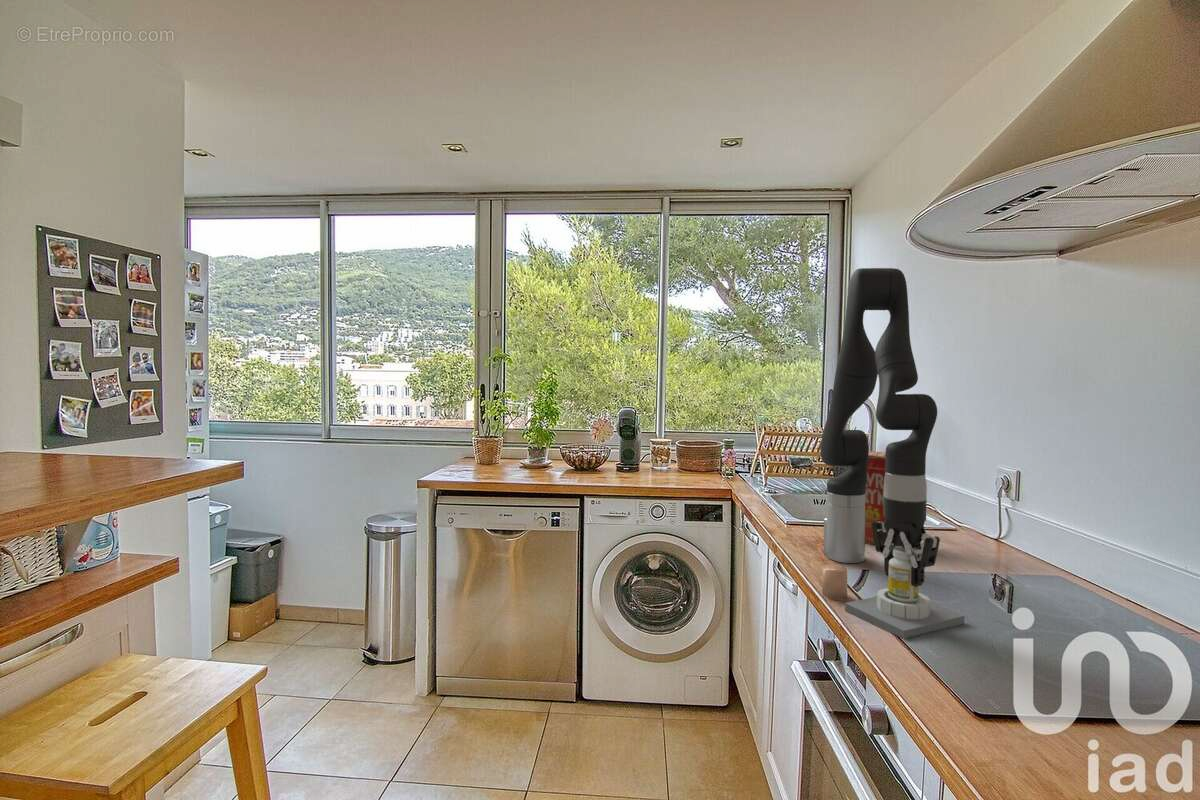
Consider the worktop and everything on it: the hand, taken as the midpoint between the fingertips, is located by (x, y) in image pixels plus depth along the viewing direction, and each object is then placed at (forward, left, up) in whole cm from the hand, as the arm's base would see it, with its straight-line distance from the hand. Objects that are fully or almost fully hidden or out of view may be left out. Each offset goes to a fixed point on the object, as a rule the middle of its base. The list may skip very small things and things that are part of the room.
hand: (903, 580), depth 117 cm
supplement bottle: (0, 0, -4) cm, 4 cm away
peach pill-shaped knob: (-14, -4, -7) cm, 16 cm away
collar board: (0, 0, -7) cm, 7 cm away
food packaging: (-40, +36, -8) cm, 54 cm away
